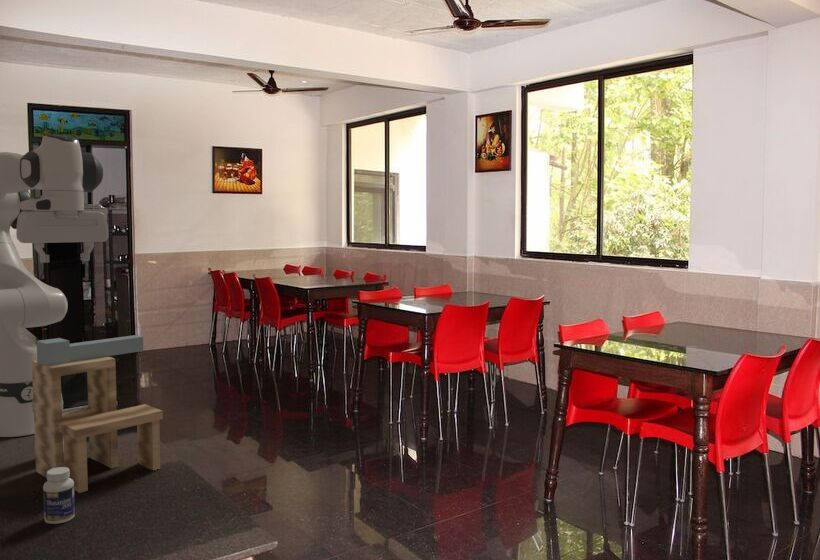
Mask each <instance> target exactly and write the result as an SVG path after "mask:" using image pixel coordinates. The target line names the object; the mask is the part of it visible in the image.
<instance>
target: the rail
mask: <svg viewBox="0 0 820 560" xmlns="http://www.w3.org/2000/svg"><path fill="white" fill-rule="evenodd" d="M36 346H37V363H39V364H42V365H45V366H51V365H58V364H65V363H70V362H73V361H80V360H86V359H93V358H100V357H106V356H108V357H112V356H118V355H125V354H131V353H138V352H144V336H141V335H137V334H135V335H127V336H119V337H113V338H112V337H111V338H103V339H97V340H96V339H95V340H89V341H81V342H80V341H79V342H73V343H70V340H68V339H65V338H61V337H57V338H49V339H41V340H36Z"/></svg>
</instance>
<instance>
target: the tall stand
mask: <svg viewBox="0 0 820 560" xmlns="http://www.w3.org/2000/svg"><path fill="white" fill-rule="evenodd" d="M116 363H117V362H116V358H114V357H112V356H106V357H100V358H93V359H86V360H80V361H73V362H70V363H65V364H58V365H51V366H45V365H42V364H39V363H37V360H34V361H32V378H33V405H34V431H35V434H34V457H35V472H36V473H37V474H39V475H41V476H42V477H44V478H46V479H47V471H48V470H50V469H53V468H58V467H64V453H63V433H61V432H59V423H60V422H64V421H69V420H74V419H78V418H83V417H88V416H92V415H97V414H102V413H106V412H111V411H116V410H118V409H117V407H118V406H117V376H116V375H117V371H116V366H117V365H116ZM81 373H86V376H87V378H86V379H87V383H86V384H87V407H86V408H79V409H75V410H70V411H65V412H63V410H62V401H61V393H62V380H61V379H62V377H64V376H69V375H76V374H81ZM118 443H119V442H118V430H114V431H110V432H106V433H102V434H98V435H93V436H89V437H88V444H89V445H88V446H89V449H88V450H89V458H90V459H91V460H93V461H96V462H97V461H98V462H97V463H99V462H100V463H99V464H101V463H102V465H103V464H104V466H105V465H106V466H105V467H107V466H108V468H110V469H116V468H118V467H119V449H118V448H119V447H118V445H119V444H118ZM115 467H116V468H115Z"/></svg>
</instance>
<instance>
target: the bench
mask: <svg viewBox="0 0 820 560" xmlns="http://www.w3.org/2000/svg"><path fill="white" fill-rule="evenodd" d="M163 411H164V410H161V409H159V408H157V407H153V406H152V405H149V404H145V403H143V404H140V405H136V406H130V407H124V408H121V409H117V410H116V411H111V412H106V413H102V414H97V415H92V416H88V417H83V418H78V419H74V420H69V421H64V422H60V423H59V432H61V433H63V442H64V453H63V460H64V467H67V468H69V470H70V476H69V478H71V479H72V480H73V481H74V492H75V491H76V492H77V493H78V494H81V493H84V492H87V491H89V489H88V488H89V487H88V483H89V482H88V481H89V480H88V454H87V453H88V451H87V450H88V449H87V447H88V446H87V438H89V436H93V435H98V434H102V433H106V432H110V431H114V430H117V431H119V430H122V429H126V428H130V427H135V426H136V435H137V437H136V439H137V440H136V441H137V445H136V446H137V464H138V463H139V464H141V465H140V466H142V465H143V466H142V467H144V466H145V467H144V468H146V467H147V468H146V469H148V468H149V469H148V470H150V469H151V470H150V471H152V470H153V471H152V472H154V470H155V471H158V470H157V469H159V470H161V440H160V439H161V434H160V433H161V432H160V428H161V427H160V420H163V419H164V414H163V413H164V412H163ZM139 464H138V465H139Z"/></svg>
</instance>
